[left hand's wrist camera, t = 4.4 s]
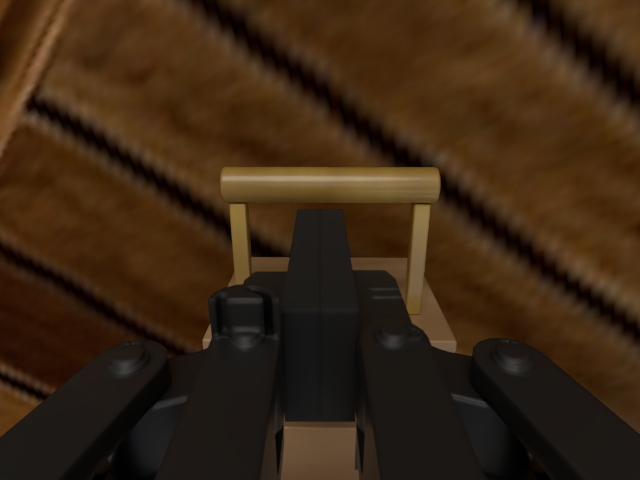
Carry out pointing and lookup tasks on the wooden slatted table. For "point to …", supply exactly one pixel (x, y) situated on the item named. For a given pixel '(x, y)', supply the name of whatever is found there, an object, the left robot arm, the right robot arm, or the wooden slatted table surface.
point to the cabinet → (319, 451)
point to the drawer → (344, 188)
